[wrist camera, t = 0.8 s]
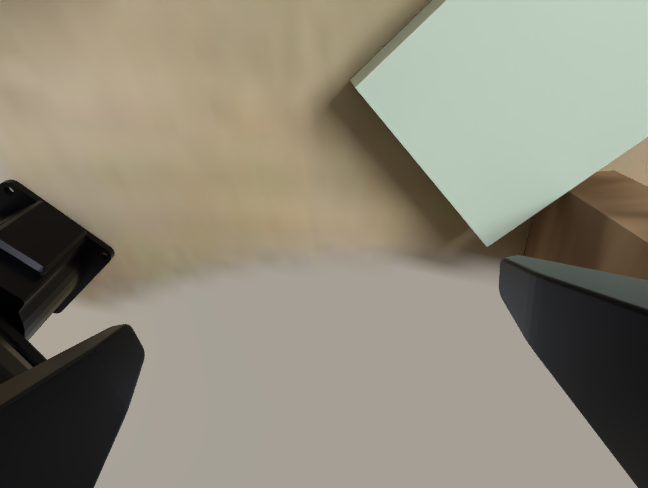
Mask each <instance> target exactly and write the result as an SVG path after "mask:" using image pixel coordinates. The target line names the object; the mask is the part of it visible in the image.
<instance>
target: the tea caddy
mask: <svg viewBox="0 0 648 488" xmlns="http://www.w3.org/2000/svg"><path fill="white" fill-rule="evenodd" d="M524 256H526V257H531V258H536V259H542V260H547V261H552V262H557V263H562V264H567V265H572V266H577V267H582V268H587V269H592V270H598V271H603V272H608V273H613V274H618V275H623V276H628V277H633V278H638V279H643V280H648V187H647V186H645V185H643V184H641V183H639V182H637V181H635V180H633V179H631V178H629V177H626V176H624V175H622V174H620V173H618V172H616V171H604V172H596V173H594V174H593V175H591V176H590V177H588V178H587V179H585V180H584V181H583V182H581V183H580V184H578V185H577V186H575V187H574V188H572V189H571V190H569V191H568V192H567V193H565V194H564V195H562V196H561V197H559V198H558V199H556V200H555V201H554V202H552V203H551V204H549V205H548V206H546V207H545V208H543V209H542V210H540V211H539V212H538V213H536V214H535V215H534V216H533V220H532V224H531V228H530V232H529V237H528V241H527V245H526V249H525V253H524Z"/></svg>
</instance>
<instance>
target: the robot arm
mask: <svg viewBox="0 0 648 488" xmlns="http://www.w3.org/2000/svg"><path fill="white" fill-rule="evenodd" d="M9 187H10V188H12V189H13V190H14V192H12V191H11V190H10V189H9ZM101 252H104V253H106V254H107V255H103V254H102V253H101ZM113 256H114V250H113V249H112V248H111V247H110V246H109V245H107V244H106V243H104V242H103V241H101V240H100V239H99V238H97V237H96V236H94V235H93V234H91V233H90V232H89V231H87V230H86V229H84V228H83V227H81V226H80V225H79V224H77V223H76V222H74V221H73V220H71V219H70V218H69V217H67V216H66V215H64V214H63V213H61V212H60V211H59V210H57V209H56V208H54V207H53V206H52V205H50V204H49V203H47V202H46V201H44V200H43V199H42V198H40V197H39V196H37V195H36V194H34V193H33V192H32V191H30V190H29V189H27V188H26V187H24V186H23V185H22V184H20V183H19V182H17V181H15V180H6V181H4V182H3V183H1V184H0V488H94V486H95V483H96V481H97V479H98V477H99V474H100V472H101V470H102V468H103V465H104V463H105V461H106V459H107V456H108V454H109V452H110V450H111V447H112V445H113V442H114V441H115V438H116V436H117V434H118V432H119V429H120V427H121V425H122V422H123V420H124V418H125V415H126V413H127V411H128V408H129V405H130V402H131V399H132V396H133V393H134V389H135V386H136V383H137V380H138V377H139V374H140V371H141V367H142V364H143V361H144V355H145V354H144V349H143V346H142V345H141V343H140V341H139V339H138V338H137V336H136V334H135V332H134V331H133V329H132V327H131V326H130V325H127V324H123V325H117V326H112V327H110V328H108V329H106V330H104V331H102V332H100V333H98V334H96V335H94V336H92V337H90V338H88V339H87V340H85V341H83V342H81V343H79V344H77V345H75V346H73V347H71V348H69V349H67V350H65V351H63V352H62V353H60V354H58V355H56V356H54V357H52V358H50V359H48V360H47V359H45V357H44V356H43V355H42V354H41V353H40V352H39V351H38V350H36V348H35V347H34V346H33V345H31V343H29V341H28V340H29V339H30V338H31V337H32V336H33V334H34V333H35V332H36V331H37V330H38V329H39V328H40V327H41V325H42V324H43V323H44V322H45V321H46V320H47V318H49V316H50V315H51V314H52V313H60V312H62V310H64V308H65V307H66V306H67V305H68V304H69V303H70V302H71V301H72V300H73V299H74V298H75V297H76V296H77V295H78V294H79V293H80V292H81V291H82V290H83V289H84V288H85V286H86V285H87V284H88V283H89V282H90V281H91V280H92V279H93V278H94V277H95V276H96V275H97V274H98V273H99V272H100V271H101V270H102V269H103V268H104V267H105V265H106V264H107V263H108V262H109V261H110V260H111V259H112V258H113ZM499 290H500V295H501V297H502V299H503V301H504V303H505V304H506V306H507V308H508V310H509V311H510V313H511V315H512V317H513V318H514V320H515V322H516V323H517V325H518V327H519V328H520V330H521V332H522V334H523V336H524V337H525V339H526V340H527V342H528V344H529V345H530V346H531V347H532V349H533V350H534V352H535V353H536V354H537V356H538V357H539V358H540V360H541V361H542V362H543V363H544V365H545V366H546V368H547V369H548V370H549V371H550V373H551V374H552V375H553V377H554V378H555V379H556V381H557V382H558V383H559V385H560V386H561V387H562V388H563V390H564V391H565V393H566V394H567V395H568V396H569V398H570V399H571V400H572V402H573V403H574V404H575V406H576V407H577V408H578V410H579V411H580V412H581V413H582V415H583V416H584V417H585V419H586V420H587V421H588V423H589V424H590V425H591V427H592V428H593V429H594V430H595V432H596V433H597V435H598V436H599V437H600V438H601V440H602V441H603V442H604V444H605V445H606V446H607V448H608V449H609V450H610V451H611V453H612V454H613V456H614V457H615V458H616V459H617V461H618V462H619V463H620V465H621V466H622V467H623V469H624V470H625V471H626V473H627V474H628V475H629V476H630V478H631V479H632V480H633V482H634V483H635V484H636V485H637V487H638V488H648V280H643V279H638V278H633V277H628V276H623V275H618V274H613V273H608V272H603V271H598V270H592V269H587V268H582V267H577V266H572V265H567V264H562V263H557V262H552V261H547V260H542V259H536V258H531V257H526V256H521V255H517V256H511V257H505V258H503V259H502V260H501V263H500V276H499Z"/></svg>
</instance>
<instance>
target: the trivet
mask: <svg viewBox="0 0 648 488" xmlns="http://www.w3.org/2000/svg"><path fill="white" fill-rule="evenodd" d="M350 81H351V83H352V84H353V85H354V87H355V88H356V89H357V91H358V92H359V93H360V94H361V95H362V97H363V98H364V99H365V100H366V101H367V103H368V104H369V105H370V106H371V108H372V109H373V110H374V111H375V112H376V114H377V115H378V116H379V117H380V118H381V120H382V121H383V122H384V123H385V124H386V126H387V127H388V128H389V129H390V130H391V132H392V133H393V134H394V135H395V137H396V138H397V139H398V140H399V141H400V143H401V144H402V145H403V146H404V147H405V149H406V150H407V151H408V152H409V153H410V155H411V156H412V157H413V158H414V159H415V161H416V162H417V163H418V164H419V166H420V167H421V168H422V169H423V170H424V172H425V173H426V174H427V175H428V176H429V178H430V179H431V180H432V181H433V182H434V184H435V185H436V186H437V187H438V189H439V190H440V191H441V192H442V193H443V195H444V196H445V197H446V198H447V199H448V201H449V202H450V203H451V204H452V205H453V207H454V208H455V209H456V210H457V211H458V213H459V214H460V215H461V216H462V218H463V219H464V220H465V221H466V222H467V224H468V225H469V226H470V227H471V228H472V230H473V231H474V232H475V233H476V234H477V236H478V237H479V238H480V239H481V241H482V242H483V243H484V244H485V245H486V247H488V246H490V245H491V244H493V243H494V242H495V241H497V240H498V239H500V238H501V237H503V236H504V235H506V234H507V233H508V232H510V231H511V230H513V229H514V228H516V227H517V226H519V225H520V224H522V223H523V222H524V221H526V220H527V219H529V218H530V217H532V216H533V215H535V214H536V213H538V212H539V211H540V210H542V209H543V208H545V207H546V206H548V205H549V204H551V203H552V202H554V201H555V200H556V199H558V198H559V197H561V196H562V195H564V194H565V193H567V192H568V191H569V190H571V189H572V188H574V187H575V186H577V185H578V184H580V183H581V182H583V181H584V180H585V179H587V178H588V177H590V176H591V175H593V174H594V173H596V172H597V171H599V170H600V169H601V168H603V167H604V166H606V165H607V164H609V163H610V162H612V161H613V160H615V159H616V158H617V157H619V156H620V155H622V154H623V153H625V152H626V151H628V150H629V149H630V148H632V147H633V146H635V145H636V144H638V143H639V142H641V141H642V140H644V139H645V138H646V137H648V0H432V1H431V2H430V3H429V4H428V5H427V6H426V7H425V8H424V9H423V10H422V11H420V12H419V13H418V14H417V15H416V16H415V17H414V18H413V19H412V20H411V21H410V22H409V23H408V24H407V25H406V26H405V27H404V28H403V29H402V30H401V31H400V32H399V33H398V34H397V35H396V36H395V37H394V38H393V39H392V40H391V41H390V42H389V43H388V44H387V45H385V46H384V47H383V48H382V49H381V50H380V51H379V52H378V53H377V54H376V55H375V56H374V57H373V58H372V59H371V60H370V61H369V62H368V63H367V64H366V65H365V66H364V67H363V68H362V69H361V70H360V71H359V72H358V73H357V74H356V75H355V76H354V77H353V78H352V79H350Z"/></svg>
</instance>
